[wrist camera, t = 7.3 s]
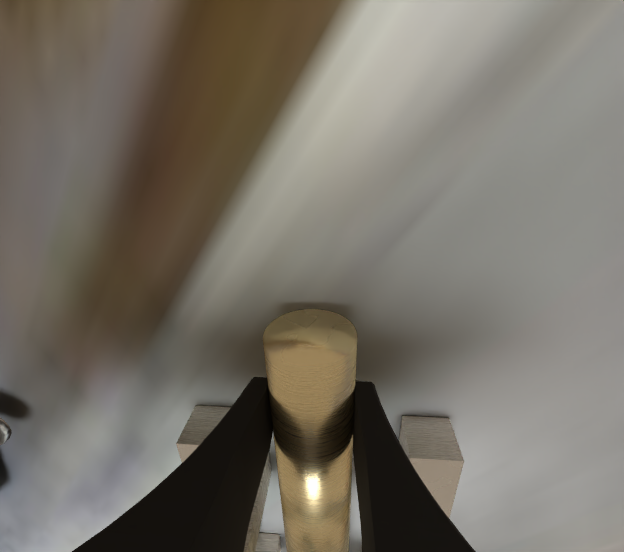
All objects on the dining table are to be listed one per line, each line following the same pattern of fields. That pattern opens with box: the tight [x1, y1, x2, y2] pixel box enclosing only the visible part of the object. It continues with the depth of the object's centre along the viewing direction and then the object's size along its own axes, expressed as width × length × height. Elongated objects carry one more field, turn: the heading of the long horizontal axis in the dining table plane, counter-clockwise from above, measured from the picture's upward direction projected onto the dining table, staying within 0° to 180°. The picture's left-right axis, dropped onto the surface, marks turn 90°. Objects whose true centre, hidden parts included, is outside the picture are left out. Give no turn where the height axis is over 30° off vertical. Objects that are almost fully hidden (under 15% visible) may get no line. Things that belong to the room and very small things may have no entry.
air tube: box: [263, 309, 357, 552], centre depth 15 cm, size 3×20×3 cm, turn 1°
